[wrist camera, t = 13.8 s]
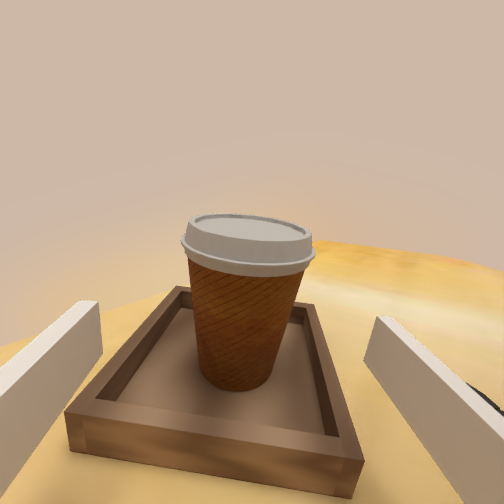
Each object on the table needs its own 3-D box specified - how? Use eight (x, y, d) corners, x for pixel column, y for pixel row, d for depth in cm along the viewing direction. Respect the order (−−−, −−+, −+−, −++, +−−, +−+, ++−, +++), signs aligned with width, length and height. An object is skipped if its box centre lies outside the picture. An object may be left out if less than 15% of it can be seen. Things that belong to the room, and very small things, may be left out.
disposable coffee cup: (159, 351, 21) (158, 213, 18) (244, 318, 27) (255, 211, 24) (222, 443, 15) (240, 252, 11) (314, 371, 21) (345, 235, 17)
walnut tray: (309, 327, 29) (313, 304, 28) (351, 498, 13) (364, 460, 12) (175, 308, 29) (176, 285, 28) (70, 450, 14) (63, 411, 13)
